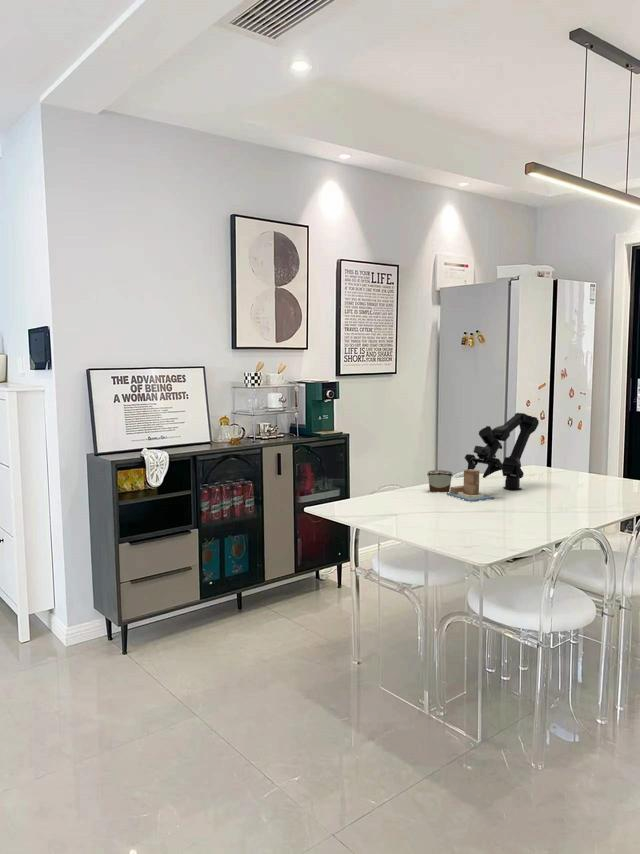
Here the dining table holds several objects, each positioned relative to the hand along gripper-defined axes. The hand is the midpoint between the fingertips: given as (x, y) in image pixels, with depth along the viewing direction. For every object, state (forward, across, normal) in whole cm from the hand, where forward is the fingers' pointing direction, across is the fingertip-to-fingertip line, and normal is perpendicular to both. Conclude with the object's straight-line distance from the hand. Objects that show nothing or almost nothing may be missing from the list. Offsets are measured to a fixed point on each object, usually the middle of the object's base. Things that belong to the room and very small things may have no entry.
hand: (475, 475), depth 320 cm
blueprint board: (+8, -2, +6) cm, 10 cm away
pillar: (+8, 0, +4) cm, 10 cm away
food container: (+9, -19, +5) cm, 22 cm away
